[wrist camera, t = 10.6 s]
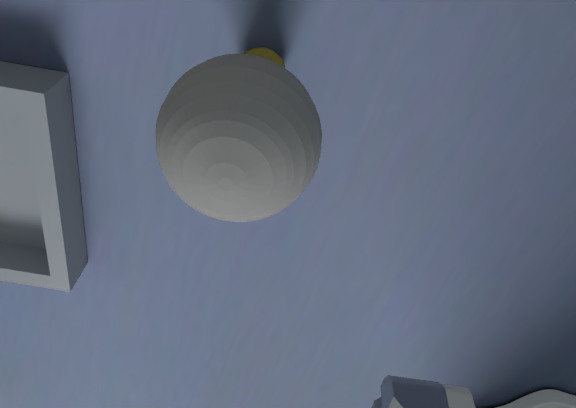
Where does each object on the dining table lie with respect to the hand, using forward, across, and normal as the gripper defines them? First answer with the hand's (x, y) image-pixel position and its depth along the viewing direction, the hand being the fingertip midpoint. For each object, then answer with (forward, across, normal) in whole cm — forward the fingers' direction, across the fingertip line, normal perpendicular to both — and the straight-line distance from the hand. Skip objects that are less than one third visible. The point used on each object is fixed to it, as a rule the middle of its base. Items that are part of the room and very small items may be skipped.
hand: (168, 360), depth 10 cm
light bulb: (+16, 0, 0) cm, 17 cm away
